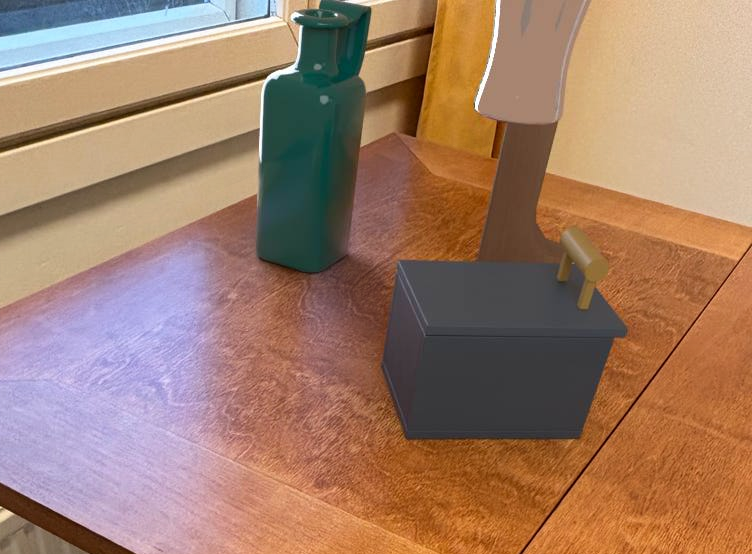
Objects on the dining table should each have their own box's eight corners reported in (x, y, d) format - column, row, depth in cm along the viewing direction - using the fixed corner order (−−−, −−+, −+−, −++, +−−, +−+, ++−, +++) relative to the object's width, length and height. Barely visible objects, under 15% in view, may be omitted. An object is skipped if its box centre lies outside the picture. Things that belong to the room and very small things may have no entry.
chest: (537, 368, 81) (565, 272, 75) (579, 439, 73) (615, 338, 67) (380, 367, 80) (396, 269, 73) (405, 439, 72) (425, 336, 65)
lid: (575, 272, 75) (593, 213, 72) (625, 338, 67) (648, 275, 64) (396, 268, 73) (405, 208, 70) (425, 335, 65) (437, 270, 62)
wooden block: (559, 289, 94) (615, 94, 81) (557, 307, 90) (615, 107, 78) (473, 275, 95) (515, 81, 82) (469, 292, 92) (512, 94, 79)
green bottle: (316, 278, 92) (339, 25, 76) (247, 257, 95) (256, 8, 79) (359, 248, 98) (389, 8, 83) (294, 229, 101) (311, -7, 85)
